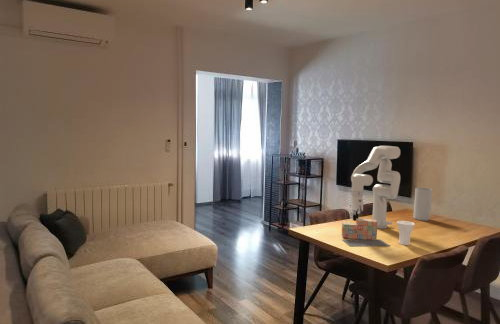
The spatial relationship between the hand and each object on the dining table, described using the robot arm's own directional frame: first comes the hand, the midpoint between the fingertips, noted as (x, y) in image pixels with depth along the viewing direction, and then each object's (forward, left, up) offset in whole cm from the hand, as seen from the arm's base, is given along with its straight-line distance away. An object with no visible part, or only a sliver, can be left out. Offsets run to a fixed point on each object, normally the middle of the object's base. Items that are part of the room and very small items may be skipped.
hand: (355, 220), depth 247 cm
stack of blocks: (0, +6, -10) cm, 12 cm away
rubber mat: (0, +16, -10) cm, 19 cm away
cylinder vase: (-77, -44, -10) cm, 89 cm away
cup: (-25, +18, -10) cm, 33 cm away
